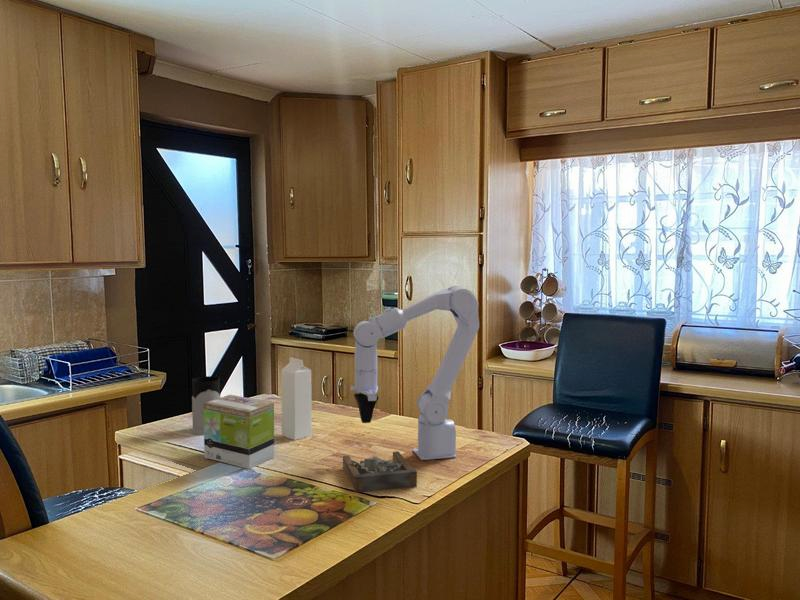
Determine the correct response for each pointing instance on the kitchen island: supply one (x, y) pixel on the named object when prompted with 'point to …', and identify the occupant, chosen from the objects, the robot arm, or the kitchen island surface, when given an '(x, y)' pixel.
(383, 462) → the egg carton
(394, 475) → the dock
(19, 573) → the kitchen island surface
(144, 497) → the kitchen island surface
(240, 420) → the tea box
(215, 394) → the glass holder
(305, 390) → the milk
